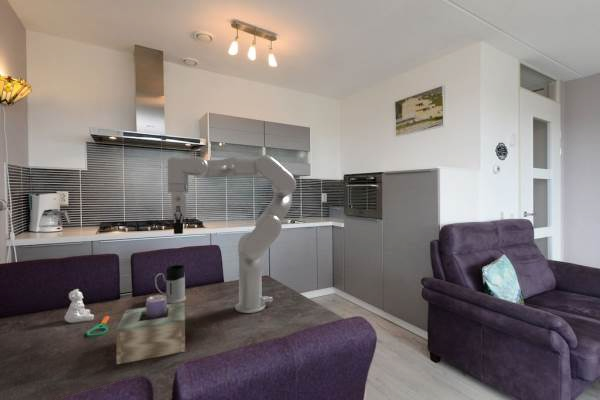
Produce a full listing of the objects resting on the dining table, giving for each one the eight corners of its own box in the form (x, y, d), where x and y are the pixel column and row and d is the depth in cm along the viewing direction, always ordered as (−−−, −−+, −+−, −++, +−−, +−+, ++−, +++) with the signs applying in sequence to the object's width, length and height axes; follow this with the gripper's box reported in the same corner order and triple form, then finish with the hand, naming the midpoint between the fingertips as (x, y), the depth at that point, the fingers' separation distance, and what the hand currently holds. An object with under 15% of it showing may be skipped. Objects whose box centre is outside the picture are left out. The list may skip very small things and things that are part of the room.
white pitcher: (190, 298, 135) (189, 266, 135) (161, 308, 123) (160, 273, 123) (178, 295, 139) (178, 264, 139) (149, 304, 127) (149, 270, 127)
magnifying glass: (104, 336, 99) (104, 331, 99) (83, 339, 97) (83, 334, 97) (116, 319, 113) (116, 314, 113) (97, 321, 111) (97, 317, 111)
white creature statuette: (95, 320, 112) (94, 289, 112) (66, 327, 105) (66, 294, 105) (89, 313, 118) (88, 284, 118) (62, 320, 112) (61, 289, 112)
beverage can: (157, 350, 89) (157, 302, 89) (142, 347, 91) (141, 300, 91) (171, 341, 95) (170, 295, 95) (156, 338, 97) (155, 294, 97)
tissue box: (184, 330, 103) (184, 302, 103) (185, 351, 89) (184, 319, 89) (126, 340, 96) (126, 309, 96) (116, 364, 82) (116, 329, 82)
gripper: (188, 188, 108) (189, 234, 108) (188, 189, 124) (188, 229, 124) (166, 188, 105) (166, 235, 105) (168, 189, 121) (169, 230, 121)
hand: (178, 232), depth 114 cm, fingers open, 9 cm apart
